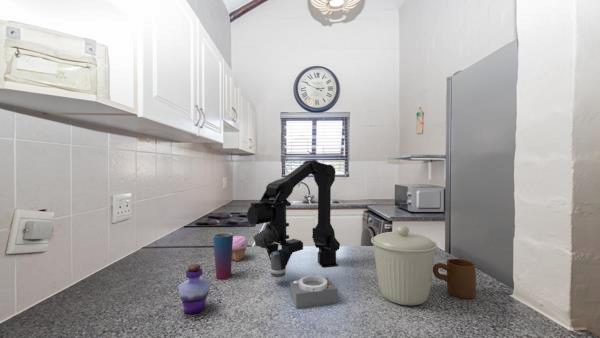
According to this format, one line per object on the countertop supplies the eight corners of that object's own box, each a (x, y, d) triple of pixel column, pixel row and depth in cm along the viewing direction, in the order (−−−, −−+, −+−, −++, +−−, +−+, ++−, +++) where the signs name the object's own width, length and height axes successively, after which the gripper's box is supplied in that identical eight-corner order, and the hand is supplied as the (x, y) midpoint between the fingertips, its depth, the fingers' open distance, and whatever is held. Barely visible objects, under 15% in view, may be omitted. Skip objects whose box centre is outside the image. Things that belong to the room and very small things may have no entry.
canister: (368, 306, 73) (367, 230, 73) (374, 280, 90) (373, 218, 90) (442, 319, 67) (441, 235, 67) (433, 288, 84) (432, 221, 84)
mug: (438, 299, 77) (438, 266, 77) (428, 287, 85) (427, 257, 85) (481, 300, 76) (481, 267, 76) (467, 288, 84) (467, 258, 84)
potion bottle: (200, 298, 79) (200, 258, 79) (217, 308, 73) (217, 264, 73) (171, 310, 72) (170, 266, 72) (187, 322, 67) (186, 274, 67)
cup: (236, 273, 98) (235, 232, 98) (229, 281, 91) (229, 237, 91) (218, 272, 99) (217, 232, 99) (210, 280, 92) (209, 237, 92)
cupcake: (222, 260, 112) (221, 236, 112) (237, 254, 120) (237, 232, 120) (236, 264, 107) (236, 239, 107) (251, 258, 115) (251, 235, 115)
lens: (284, 270, 92) (284, 249, 92) (287, 276, 87) (286, 254, 87) (269, 272, 90) (269, 251, 90) (271, 278, 85) (271, 255, 85)
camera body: (327, 290, 83) (327, 273, 83) (337, 302, 75) (337, 284, 75) (290, 295, 80) (290, 277, 80) (296, 308, 72) (296, 289, 73)
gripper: (241, 220, 90) (242, 266, 90) (276, 228, 76) (277, 283, 76) (267, 215, 97) (268, 258, 97) (304, 222, 84) (304, 272, 84)
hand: (278, 267), depth 89 cm, fingers closed on lens, 5 cm apart
